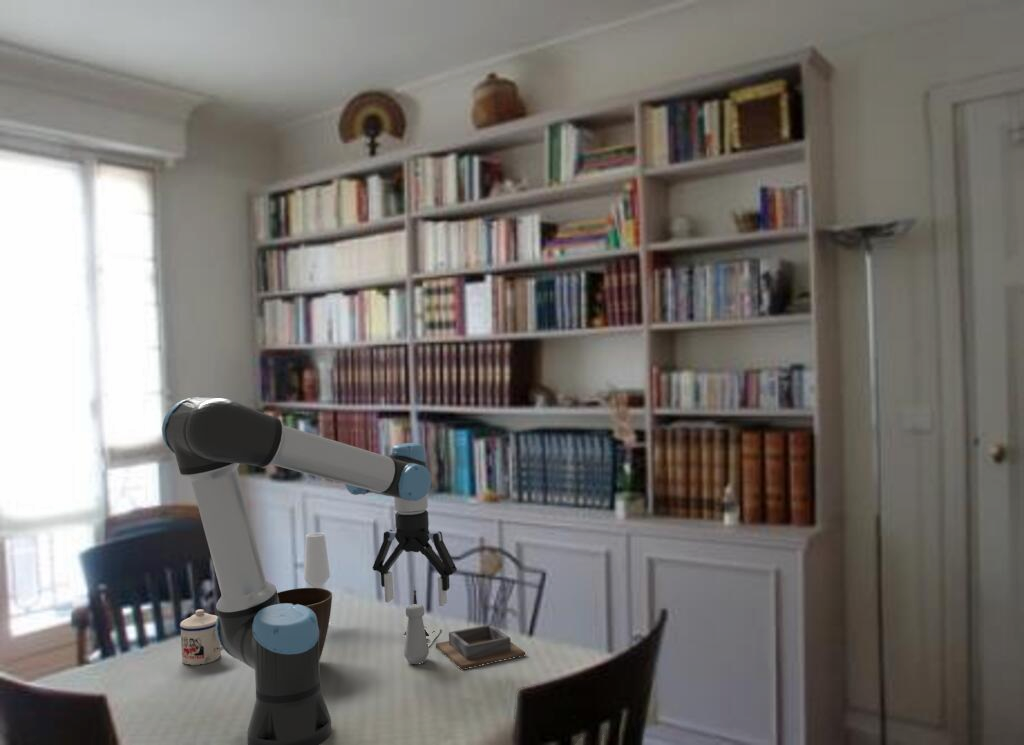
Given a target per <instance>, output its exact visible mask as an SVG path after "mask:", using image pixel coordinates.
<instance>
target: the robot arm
mask: <svg viewBox="0 0 1024 745" xmlns="http://www.w3.org/2000/svg"><path fill="white" fill-rule="evenodd" d="M161 425H162V426H161V435H162V439H163V441H164V443H165V445H166V446H167V448H168V449H169V450H170V451H171V452H172V453H173V454H174V455H175V459H176V463H177V467H178V470H179V473H180V476H182V477H183V478H186V479H188V480H189V481H190V482H191V485H192V488H193V489H192V490H193V493H194V496H195V500H196V504H197V507H198V511H199V514H200V518H201V522H202V527H203V531H204V534H205V539H206V542H207V545H208V549H209V553H210V558H211V560H212V563H213V567H214V571H215V575H216V579H217V583H218V586H219V591H220V594H221V596H220V598H219V599H218V601H216V605H215V607H216V611H217V616H218V618H217V620H216V636H217V639H218V641H219V643H220V646H222V647H223V651H225V652H226V653H227V655H230V656H231V657H233V658H234V659H236V660H239V661H240V662H242V663H244V664H245V665H246V666H248V667H250V668H252V669H253V670H254V676H255V702H254V706H253V710H252V713H251V716H250V720H249V723H248V727H247V733H246V734H247V745H320V744H322V743H323V742H325V741H326V740H327V739H328V738H329V737H330V736H331V733H332V717H331V714H330V712H329V709H328V707H327V704H326V702H325V698H324V696H323V693H322V690H321V672H320V671H321V670H320V668H321V667H320V665H321V664H320V661H319V627H318V622H317V617H316V615H315V613H314V612H313V611H312V610H311V609H310V608H308V607H306V606H303V605H299V604H297V605H293V604H291V603H283V604H280V602H279V598H278V594H277V593H278V591H277V587H276V585H275V584H274V583H271V582H268V581H267V580H266V576H265V573H264V568H263V565H262V561H261V556H260V554H259V549H258V545H257V541H256V537H255V533H254V530H253V526H252V521H251V518H250V515H249V514H250V513H249V509H248V507H247V506H248V505H247V502H246V498H245V495H244V490H243V487H242V483H241V478H240V474H239V471H238V468H239V466H240V464H241V465H249V466H254V467H257V468H261V469H264V468H267V467H269V466H271V465H273V466H275V467H279V468H283V469H287V470H292V471H295V472H299V473H303V474H307V475H309V476H310V475H311V476H314V477H318V478H321V479H326V480H329V481H334V482H338V483H341V484H344V485H345V487H346V490H347V491H348V492H349V494H351V495H354V496H356V495H357V496H358V495H363V496H365V495H366V494H377V495H382V496H385V497H386V496H387V497H393V498H394V510H395V512H396V513H394V517H395V519H394V521H395V528H396V530H395V531H393V530H392V529H388V530H386V531H384V532H383V540H382V543H381V546H380V548H379V551H378V554H377V555H376V558H375V561H374V563H373V564H372V570H373V571H377V572H378V573H380V582H381V587H382V588H384V602H385V603H390V602H391V601H392V600H394V599H395V598H394V597H395V596H394V583H393V582H394V581H393V580H394V579H393V577H394V576H393V571H392V570H391V568H392V566H393V565H394V563H395V562H396V561H397V559H399V557H400V556H401V554H402V553H403V552H406V553H409V552H413V553H419V552H420V553H421V554H422V556H425V558H426V559H427V561H429V563H430V564H431V565H432V566H433V567H434V569H435V570H436V571H437V573H438V574H439V576H438V577H437V591H438V593H437V594H438V607H443V606H444V605H445V604H447V603H448V600H447V596H448V595H447V591H448V590H450V588H451V585H450V576H452V575H454V574H455V573H456V572H458V568H457V566H456V564H455V563H454V560H453V558H452V556H451V554H450V552H449V550H448V548H447V546H446V544H445V543H444V542H445V541H444V539H443V533H442V531H436V532H433V533H430V530H429V525H430V524H429V521H430V520H429V512H428V510H427V509H428V506H429V504H428V494H429V491H430V490H431V485H432V476H431V473H430V471H429V470H428V468H427V460H426V452H425V447H424V445H423V444H422V443H419V442H418V443H417V442H406V443H397V444H394V445H392V446H391V447H392V448H391V454H389V455H383V454H380V453H377V452H373V451H370V450H367V449H364V448H360V447H357V446H353V445H350V444H347V443H344V442H340V441H338V440H334V439H330V438H327V437H323V436H322V435H321V436H320V435H318V434H315V433H311V432H307V431H303V430H301V429H298V428H294V427H291V426H288V425H284V423H283V421H282V419H281V418H279V417H276V416H273V415H270V414H268V413H265V412H261V411H259V410H257V409H254V408H252V407H249V406H247V405H245V404H242V403H240V402H238V401H235V400H232V399H229V398H222V397H221V398H220V397H217V398H216V397H208V396H195V397H194V396H193V397H188V398H185V399H182V400H180V401H179V402H177V403H175V404H174V405H173V406H172V407H171V408H170V409H169V410H168V412H167V413H166V415H165V416H164V418H163V421H162V424H161ZM395 539H396V541H397V543H398V544H397V545H396V547H395V548H394V550H393V551H392V553H391V554H390V555H389V557H388V558H387V559H386V557H387V555H388V554H389V550H390V548H391V545H392V543H393V541H394V540H395ZM430 540H431V542H432V543H433V545H434V547H435V549H436V551H437V553H436V552H435V550H434V549H433V547H432V545H431V544H430V543H429V541H430ZM385 560H386V561H385ZM384 562H385V563H384ZM390 570H391V571H390Z"/></svg>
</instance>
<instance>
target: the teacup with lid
mask: <svg viewBox="0 0 1024 745" xmlns="http://www.w3.org/2000/svg"><path fill="white" fill-rule="evenodd" d="M217 618H218V615H215V614H210V613H207V612H205V610H204V609H196V610H195V613H194V614H192V615H190V617H188V618H185V619H184V620H181V621H180V624H179V629H180V641H181V646H180V647H181V661H182V663H183V664H185V665H187V664H190V665H189V666H201V665H200V664H202V665H206V663H207V664H210V663H213V662H215V661H217V660H218V659H219V658H220V657H221V655H222V651H224V649H223V647H222V646H221V645H220V643H219V641H218V639H217V636H216V620H217Z"/></svg>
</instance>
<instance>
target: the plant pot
mask: <svg viewBox="0 0 1024 745" xmlns="http://www.w3.org/2000/svg"><path fill="white" fill-rule="evenodd" d="M277 594H278V598H279V602H280V604H283V603H291V604H293V605H297V604H299V605H303V606H306V607H308V608H310V609H311V610H312V611H313V612H314V613H315V615H316V617H317V622H318V627H319V662H320V660H321V658H322V654H323V650H324V647H325V643H326V639H327V635H328V629H329V626H328V625H329V621H330V618H331V613H332V612H331V611H332V600H333V592H332V591H331V590H329V589H327V588H326V589H325V588H322V587H321V588H313V587H300V588H292V589H286V590H283V591H279V592H277Z"/></svg>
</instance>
